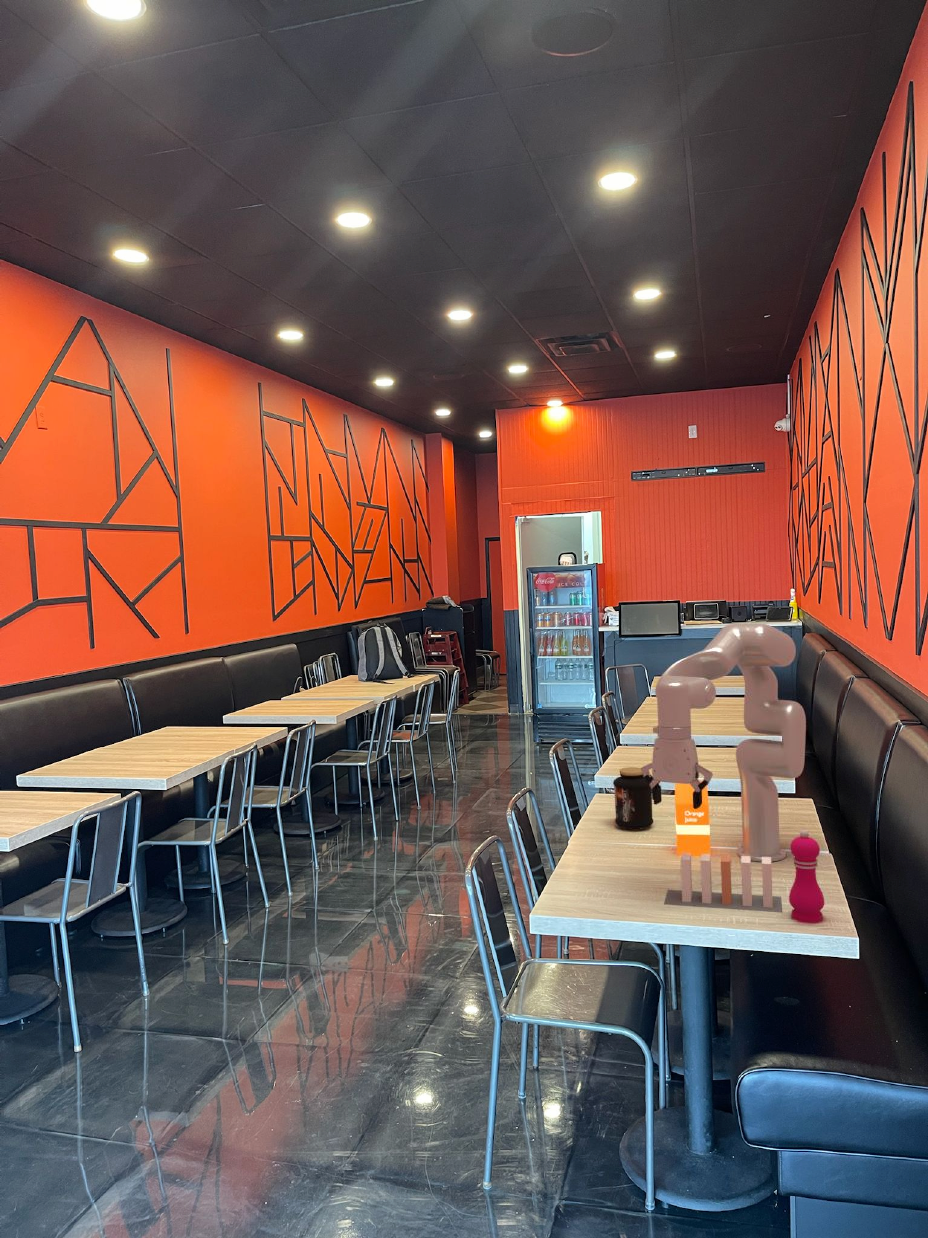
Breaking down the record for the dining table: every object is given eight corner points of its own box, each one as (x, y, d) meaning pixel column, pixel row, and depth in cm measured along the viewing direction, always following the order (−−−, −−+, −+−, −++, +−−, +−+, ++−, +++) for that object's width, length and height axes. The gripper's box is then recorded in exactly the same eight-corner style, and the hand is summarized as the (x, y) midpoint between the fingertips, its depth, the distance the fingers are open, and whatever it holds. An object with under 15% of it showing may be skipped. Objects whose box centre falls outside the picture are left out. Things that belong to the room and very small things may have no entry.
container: (658, 831, 263) (654, 772, 262) (618, 833, 263) (614, 774, 263) (650, 821, 275) (647, 764, 275) (612, 823, 275) (609, 767, 275)
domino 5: (763, 907, 198) (762, 863, 198) (763, 899, 203) (761, 856, 202) (772, 907, 197) (771, 864, 197) (772, 900, 202) (770, 857, 202)
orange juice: (710, 856, 237) (708, 783, 237) (677, 856, 239) (674, 783, 239) (708, 848, 245) (706, 777, 244) (676, 847, 247) (673, 777, 246)
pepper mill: (816, 913, 195) (813, 824, 194) (830, 925, 188) (828, 833, 187) (784, 915, 195) (781, 826, 194) (797, 927, 187) (794, 835, 187)
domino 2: (702, 903, 202) (700, 860, 202) (703, 895, 207) (701, 853, 207) (711, 903, 202) (709, 861, 201) (711, 896, 206) (710, 854, 206)
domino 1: (682, 901, 204) (680, 859, 203) (683, 894, 208) (682, 852, 208) (691, 902, 203) (689, 859, 203) (692, 894, 208) (690, 853, 208)
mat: (667, 892, 212) (667, 889, 212) (781, 899, 204) (781, 896, 204) (663, 906, 203) (663, 904, 203) (782, 915, 194) (782, 912, 194)
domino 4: (742, 905, 200) (741, 862, 199) (742, 898, 204) (741, 855, 204) (751, 906, 199) (750, 863, 199) (751, 898, 204) (750, 856, 203)
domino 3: (722, 904, 201) (720, 861, 201) (722, 896, 206) (721, 854, 205) (731, 905, 200) (729, 862, 200) (731, 897, 205) (730, 855, 205)
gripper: (633, 733, 207) (636, 805, 207) (705, 738, 197) (707, 813, 197) (646, 728, 213) (649, 798, 213) (716, 733, 203) (718, 806, 203)
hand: (677, 805), depth 205 cm, fingers open, 9 cm apart
